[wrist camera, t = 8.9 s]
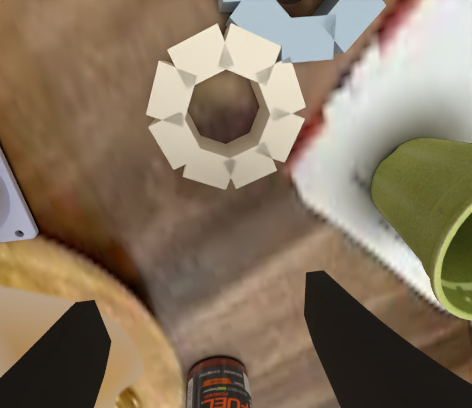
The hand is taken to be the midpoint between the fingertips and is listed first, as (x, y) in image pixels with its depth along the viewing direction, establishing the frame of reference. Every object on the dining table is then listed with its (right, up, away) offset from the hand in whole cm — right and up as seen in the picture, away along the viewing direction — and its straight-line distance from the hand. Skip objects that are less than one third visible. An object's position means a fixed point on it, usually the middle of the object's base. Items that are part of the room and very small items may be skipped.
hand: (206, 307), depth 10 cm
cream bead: (0, +9, +7) cm, 12 cm away
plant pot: (+14, +6, +11) cm, 18 cm away
